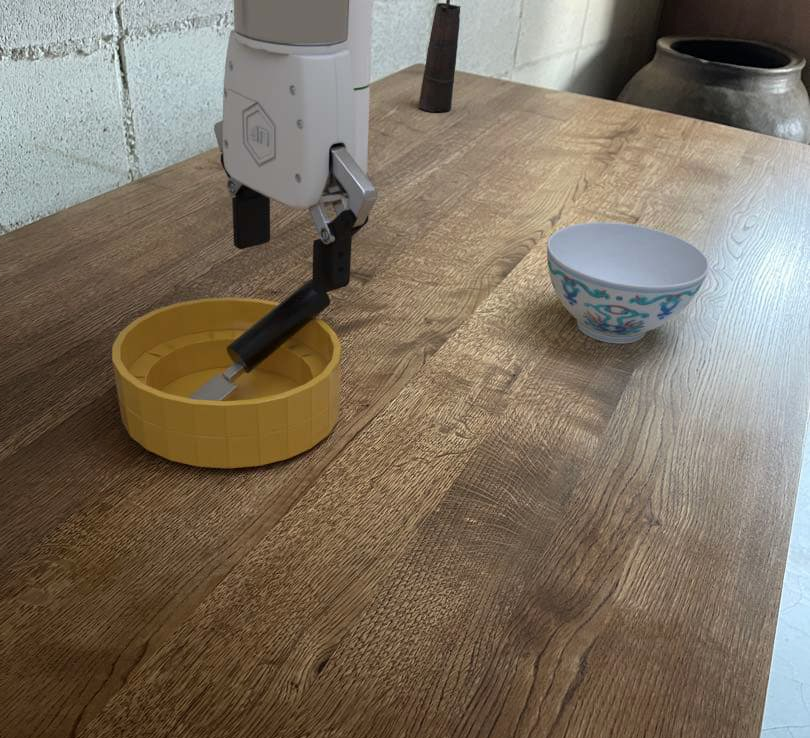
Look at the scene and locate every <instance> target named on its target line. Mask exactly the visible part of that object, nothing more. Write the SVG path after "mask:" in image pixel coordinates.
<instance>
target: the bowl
mask: <svg viewBox="0 0 810 738" xmlns="http://www.w3.org/2000/svg"><path fill="white" fill-rule="evenodd" d="M280 303H281V302H278V301H272V300H266V299H262V298H251V297H236V296H235V297H234V296H227V297H226V296H225V297H206V298H199V299H192V300H187V301H181V302H176V303H173V304H170V305H166V306H163V307H160V308H157V309H154V310H152V311H150V312H148V313H146V314H144V315H142V316H140V317H138V318H135V319H134V320H133V321H132V322H131V323H129V324H128V325H127V326H126V327H124V329H122V330H121V331H120V332H119V333H118V335H117V337H116V338H115V340H114V342H113V344H112V346H111V361H112V366H113V373H114V380H115V386H116V393H117V398H118V405H119V410H120V417H121V422H122V424H123V426H124V428H125V429H126V431H127V433H128V435H129V436H130V438H131V439H133V441H135V442H136V443H138V444H139V445H140V446H141V447H142V448H144V449H145V450H146V451H148V452H150V453H152V454H155V455H157V456H159V457H162V458H163V459H165V460H168V461H171V462H176V463H179V464H185V465H189V466H193V467H200V468H213V469H237V468H238V469H240V468H250V467H251V468H252V467H259V466H264V465H269V464H273V463H276V462H277V463H278V462H280V461H285V460H288V459H291V458H293V457H295V456H298V455H300V454H302V453H304V452H306V451H308V450H311V449H312V448H313V447H315V446H316V445H318V444H319V443H320V442H322V441H323V440H324V439H326V437H328V436H329V435H330V433H331V432H332V430H333V429H334V427H335V426H336V424H337V423H338V421H339V417H340V412H341V411H340V410H341V389H342V388H341V387H342V385H341V384H342V383H341V382H342V344H341V342H340V340H339V337H338V335H337V333H336V332H335V331H334V330H333V328H331V326H330V325H328V324H327V322H325V321H324V320H323V319H321V318H319V317H318V316H316V317H315V318H314V319H313V320H312V321H310V322H309V323H308V324H307V325H306V326H304V327H303V328H302V329H301V330H300V331H299V332H297V333H296V334H295V335H294V336H293V337H291V338H290V339H289V340H288V341H287V342H285V343H284V344H283V345H282V346H281V347H279V348H278V349H277V350H276V351H275V352H273V353H272V354H271V355H270V356H269V357H268V358H266V359H265V360H264V361H263V362H262V363H260V364H259V365H258V366H257V367H256V368H254V369H253V370H252V371H251V372H250V373H243V374H242V375H241V376H240V377H239V378H237V379H236V380H235V381H234V382H233V384H234V385H236V386H237V388H238V390H239V391H237V392H236V393H235V394H234V395H233V396H232V397H230V398H229V399H228V400H227V401H212V400H196V399H190V398H188V397H189V396H191V395H192V394H193V393H194V392H195V391H197V390H198V389H199V388H200V387H202V386H203V385H204V384H205V383H206V382H208V381H209V380H210V379H211V378H212V377H214V376H215V375H216V374H217V373H218V374H219V375H221V376H222V377H224V376H223V375H222V373H223V372H224V371H225V370H227V369H228V368H229V367H230V366H232V365H233V364H234V362H233V361H232V359H231V358H230V356H229V355H228V352H227V346H229V345H230V344H231V343H232V342H233V341H235V340H236V339H237V338H238V337H240V336H241V335H242V334H243V333H244V332H246V331H247V330H248V329H249V328H250V327H252V326H253V325H254V324H255V323H257V322H258V321H259V320H260V319H261V318H263V317H264V316H265V315H266V314H268V313H269V312H270V311H271V310H272V309H274V308H275V307H276V306H277V305H279V304H280Z"/></svg>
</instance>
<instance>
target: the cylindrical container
mask: <svg viewBox="0 0 810 738" xmlns="http://www.w3.org/2000/svg"><path fill="white" fill-rule="evenodd" d="M373 3H374V0H349V19H348V46H347V48H346V49H347V50H349V51H350V57H351V65H352V74H353V85H354V101H355V138H356V144H355V162H356V163H357V165H358V166H359V167H360V168H361V170H362V171H363V172H364V174H365V175H366V176H367V174H368V155H369V154H368V153H369V151H368V150H369V121H370V93H371V92H370V91H371V88H370V87H371V84H370V83H371V64H372V62H371V60H372V35H373V33H372V31H373V30H372V29H373V5H374V4H373Z"/></svg>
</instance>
